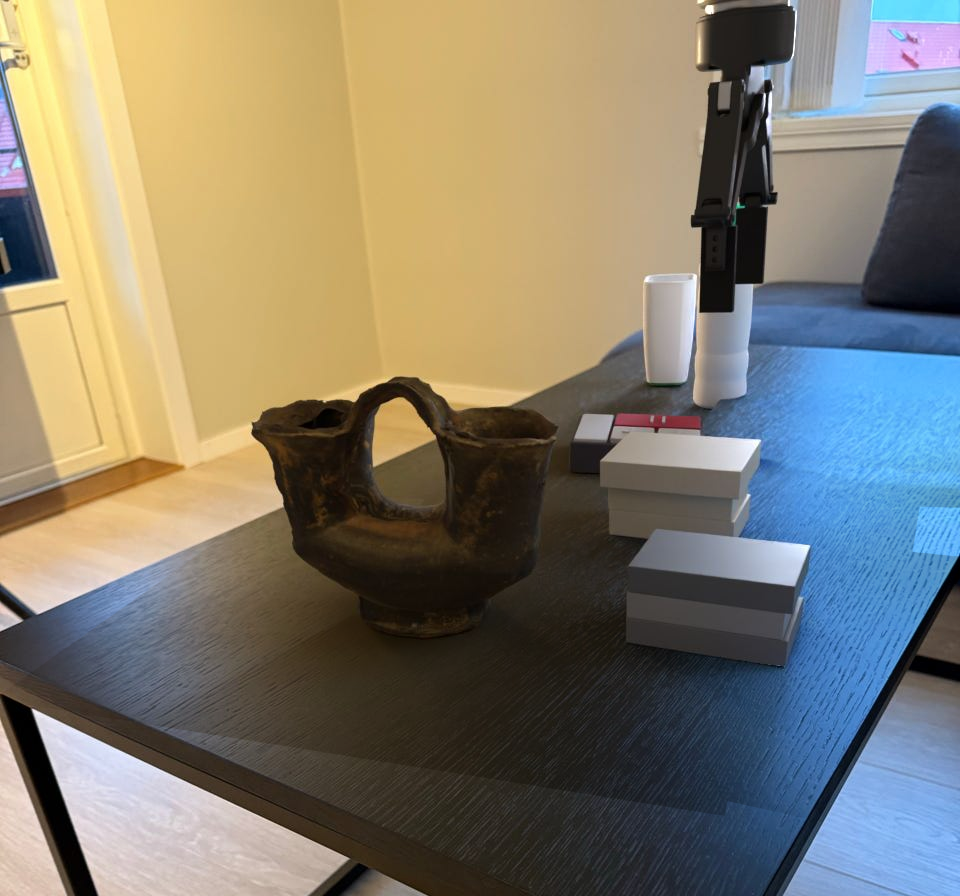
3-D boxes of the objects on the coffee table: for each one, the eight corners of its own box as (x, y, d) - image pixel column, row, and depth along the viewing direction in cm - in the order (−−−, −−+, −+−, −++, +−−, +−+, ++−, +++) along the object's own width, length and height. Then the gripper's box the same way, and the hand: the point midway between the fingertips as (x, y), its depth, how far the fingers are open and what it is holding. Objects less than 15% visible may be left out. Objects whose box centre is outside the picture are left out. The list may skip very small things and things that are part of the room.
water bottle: (700, 395, 132) (709, 202, 120) (750, 398, 129) (765, 200, 117) (686, 409, 127) (695, 208, 115) (739, 412, 124) (753, 206, 112)
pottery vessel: (262, 627, 79) (213, 393, 69) (321, 573, 88) (285, 359, 78) (545, 658, 71) (535, 400, 61) (579, 596, 80) (575, 361, 70)
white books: (749, 519, 92) (752, 468, 90) (732, 548, 86) (736, 495, 84) (630, 507, 97) (631, 459, 94) (608, 534, 91) (607, 483, 89)
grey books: (802, 621, 73) (811, 544, 70) (786, 668, 68) (795, 586, 64) (652, 601, 78) (654, 528, 75) (625, 642, 72) (626, 565, 69)
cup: (692, 376, 142) (697, 272, 135) (691, 388, 136) (695, 280, 129) (644, 376, 144) (646, 274, 137) (640, 388, 138) (642, 282, 130)
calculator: (705, 441, 102) (569, 435, 105) (701, 479, 104) (568, 472, 107) (705, 413, 112) (580, 408, 114) (701, 448, 114) (579, 442, 117)
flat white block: (759, 465, 90) (761, 439, 89) (739, 499, 83) (741, 471, 82) (630, 455, 95) (630, 431, 94) (599, 487, 88) (599, 460, 87)
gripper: (730, 22, 83) (720, 274, 93) (654, 5, 64) (653, 326, 74) (818, 10, 80) (798, 272, 90) (767, -11, 61) (749, 326, 71)
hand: (733, 297), depth 82 cm, fingers open, 13 cm apart
